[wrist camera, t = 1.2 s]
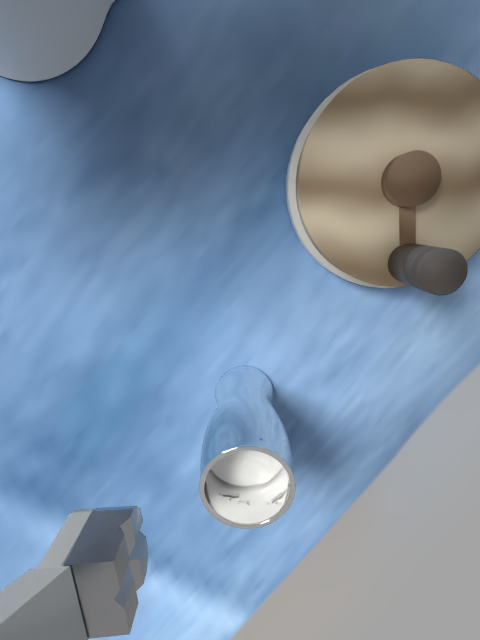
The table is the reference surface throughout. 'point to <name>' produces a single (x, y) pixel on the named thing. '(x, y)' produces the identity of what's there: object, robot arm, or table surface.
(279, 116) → the table surface
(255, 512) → the beer glass
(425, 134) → the tan disc with handle
